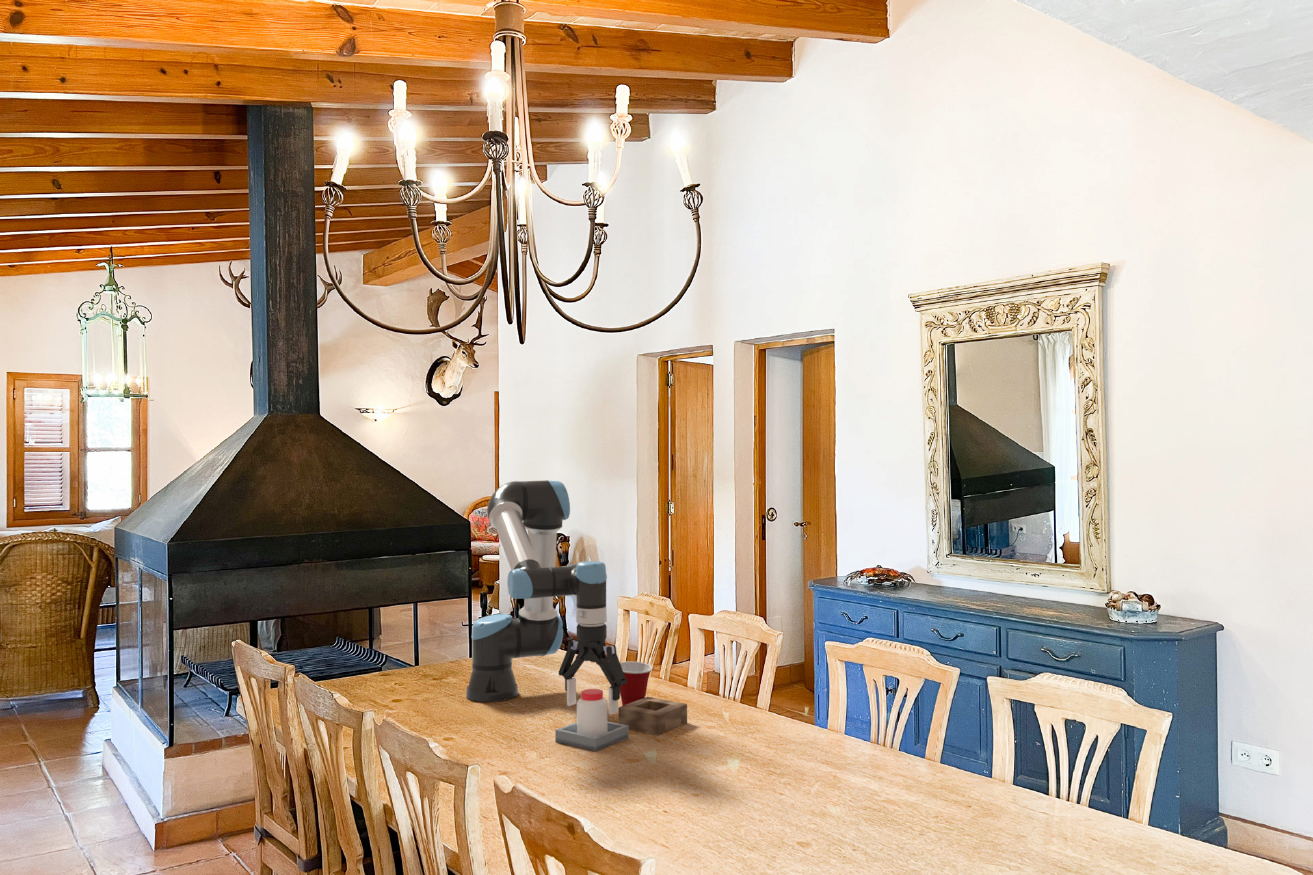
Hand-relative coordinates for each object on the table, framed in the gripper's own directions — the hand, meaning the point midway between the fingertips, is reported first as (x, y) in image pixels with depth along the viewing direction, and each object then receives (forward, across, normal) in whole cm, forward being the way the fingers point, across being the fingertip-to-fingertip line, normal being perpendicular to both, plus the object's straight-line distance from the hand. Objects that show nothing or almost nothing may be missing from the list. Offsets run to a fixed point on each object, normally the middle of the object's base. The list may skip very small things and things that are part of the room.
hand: (592, 708), depth 231 cm
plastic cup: (+8, -9, +29) cm, 31 cm away
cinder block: (+8, +5, +19) cm, 21 cm away
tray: (+8, 0, 0) cm, 8 cm away
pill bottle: (+7, 0, 0) cm, 7 cm away
